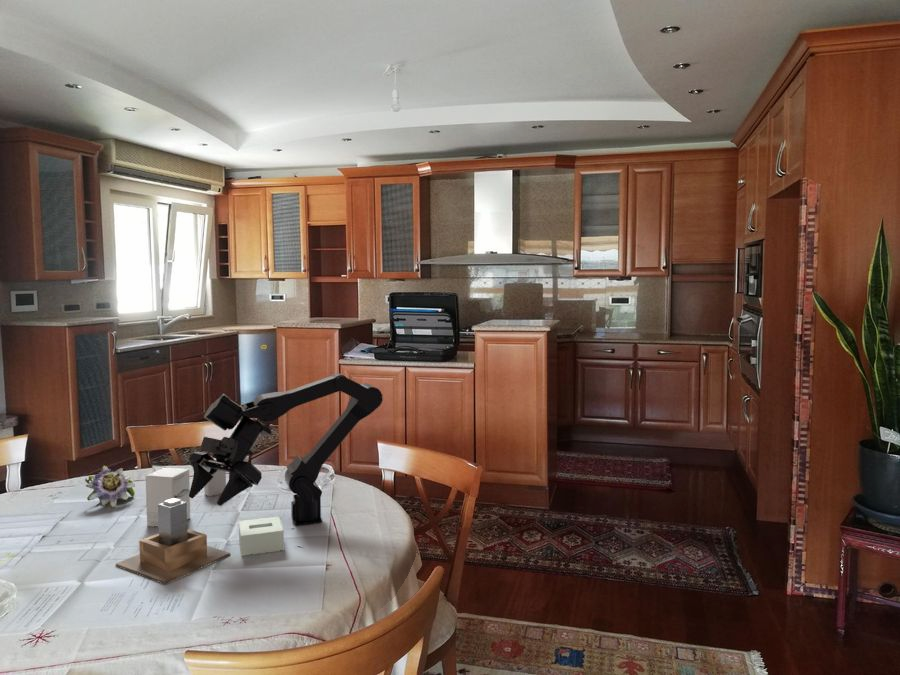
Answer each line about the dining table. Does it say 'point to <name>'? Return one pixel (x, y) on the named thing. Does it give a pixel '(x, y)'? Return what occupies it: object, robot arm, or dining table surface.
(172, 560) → the square sleeve
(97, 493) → the passion flower
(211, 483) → the power adapter
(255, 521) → the narrow slot block
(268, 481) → the dining table surface
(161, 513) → the square bit
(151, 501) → the supplement box
